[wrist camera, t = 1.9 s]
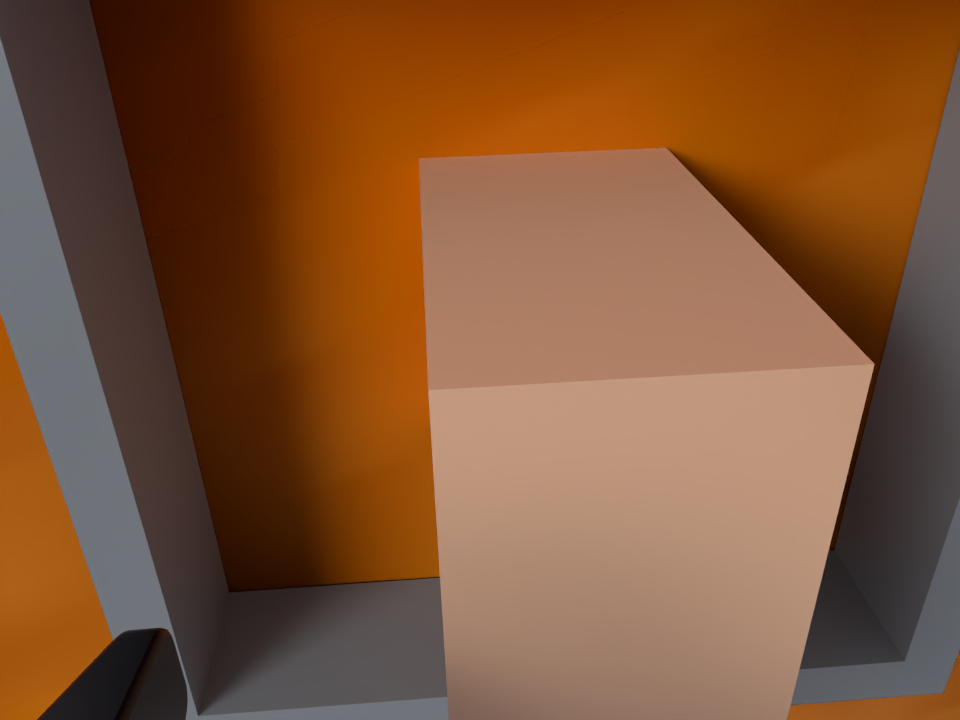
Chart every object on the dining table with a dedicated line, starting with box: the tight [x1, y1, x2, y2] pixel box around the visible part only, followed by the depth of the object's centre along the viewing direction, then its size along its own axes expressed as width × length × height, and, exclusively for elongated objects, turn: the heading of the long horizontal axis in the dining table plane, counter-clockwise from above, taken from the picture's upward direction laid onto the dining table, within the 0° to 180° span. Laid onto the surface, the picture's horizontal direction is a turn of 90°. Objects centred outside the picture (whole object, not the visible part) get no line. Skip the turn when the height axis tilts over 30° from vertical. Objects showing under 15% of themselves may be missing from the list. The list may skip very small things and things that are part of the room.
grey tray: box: [0, 0, 960, 720], centre depth 13 cm, size 15×15×3 cm
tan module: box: [419, 148, 875, 720], centre depth 12 cm, size 5×4×7 cm
